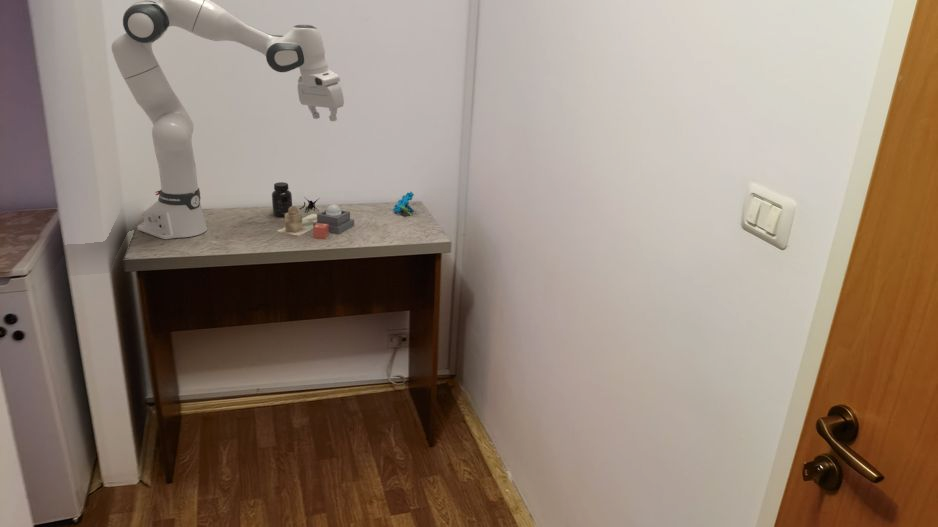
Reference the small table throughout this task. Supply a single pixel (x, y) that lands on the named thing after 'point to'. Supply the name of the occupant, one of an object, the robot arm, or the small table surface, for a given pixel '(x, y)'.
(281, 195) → the supplement bottle
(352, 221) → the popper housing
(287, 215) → the pawn
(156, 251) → the small table surface
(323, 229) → the die
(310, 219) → the board
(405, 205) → the blue lobed plastic figure
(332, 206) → the dome
